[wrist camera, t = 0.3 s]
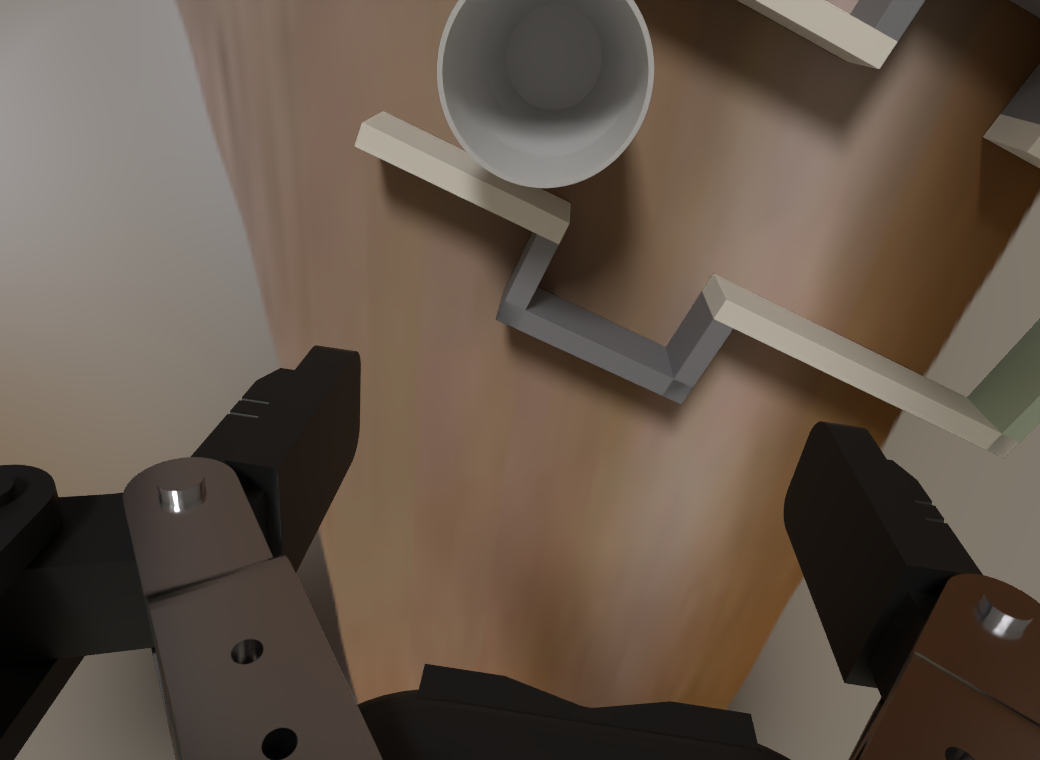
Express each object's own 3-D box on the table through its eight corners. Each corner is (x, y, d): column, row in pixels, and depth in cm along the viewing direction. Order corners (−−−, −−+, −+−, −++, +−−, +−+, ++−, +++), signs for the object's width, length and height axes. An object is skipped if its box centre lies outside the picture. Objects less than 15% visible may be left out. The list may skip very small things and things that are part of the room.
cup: (649, -25, 33) (674, -34, 24) (620, 152, 37) (633, 199, 28) (478, -44, 33) (442, -61, 24) (467, 134, 37) (432, 175, 28)
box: (534, -326, 28) (527, -372, 25) (1260, 112, 34) (1338, 124, 30) (345, 219, 40) (323, 240, 36) (911, 481, 45) (939, 522, 42)
